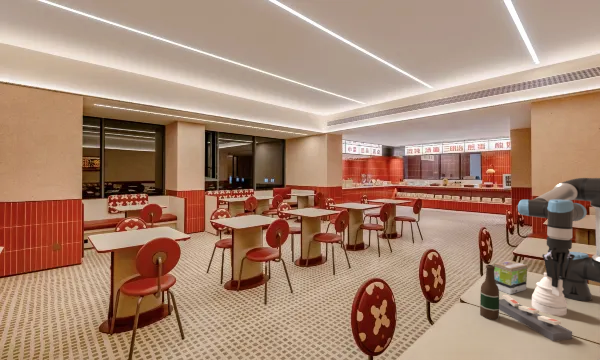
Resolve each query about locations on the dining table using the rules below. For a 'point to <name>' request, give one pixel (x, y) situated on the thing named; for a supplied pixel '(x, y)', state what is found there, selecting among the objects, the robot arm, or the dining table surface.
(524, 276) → the tea box
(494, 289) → the beer bottle
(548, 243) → the robot arm
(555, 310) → the honey pot
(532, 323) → the power strip
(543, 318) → the end rocker
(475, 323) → the dining table surface
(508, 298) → the rocker
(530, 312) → the middle rocker
